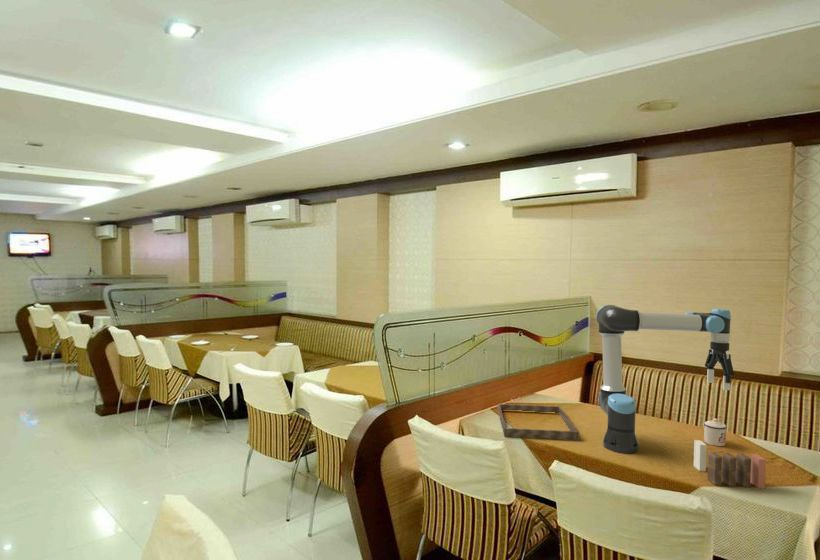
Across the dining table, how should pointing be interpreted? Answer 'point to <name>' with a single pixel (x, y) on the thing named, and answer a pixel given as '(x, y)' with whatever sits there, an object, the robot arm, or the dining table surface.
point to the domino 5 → (758, 471)
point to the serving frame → (537, 433)
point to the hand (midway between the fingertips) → (718, 386)
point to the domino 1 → (699, 455)
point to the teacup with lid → (715, 433)
